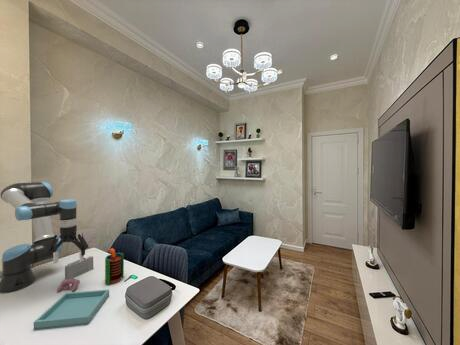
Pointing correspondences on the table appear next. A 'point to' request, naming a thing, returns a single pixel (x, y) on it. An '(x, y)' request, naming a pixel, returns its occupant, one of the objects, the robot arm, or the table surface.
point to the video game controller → (66, 285)
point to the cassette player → (78, 268)
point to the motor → (114, 267)
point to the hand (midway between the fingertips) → (68, 261)
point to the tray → (72, 309)
